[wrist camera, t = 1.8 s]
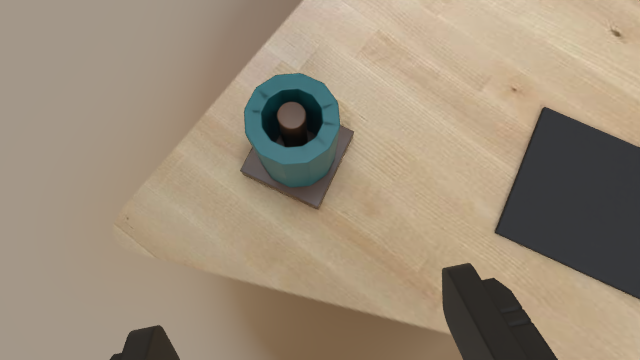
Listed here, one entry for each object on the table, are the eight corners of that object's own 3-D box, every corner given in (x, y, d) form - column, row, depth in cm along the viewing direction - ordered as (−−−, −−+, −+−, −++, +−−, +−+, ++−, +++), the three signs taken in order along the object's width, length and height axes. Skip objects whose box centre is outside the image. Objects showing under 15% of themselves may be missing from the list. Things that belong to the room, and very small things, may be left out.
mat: (744, 346, 33) (748, 347, 33) (494, 232, 35) (496, 232, 34) (779, 209, 35) (784, 209, 35) (542, 108, 37) (544, 106, 36)
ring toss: (318, 209, 35) (318, 189, 25) (243, 174, 35) (215, 140, 26) (352, 136, 36) (365, 89, 26) (279, 103, 37) (266, 45, 27)
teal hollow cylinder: (315, 199, 34) (314, 179, 26) (248, 167, 34) (227, 139, 26) (346, 134, 35) (354, 96, 27) (280, 104, 35) (270, 59, 27)
